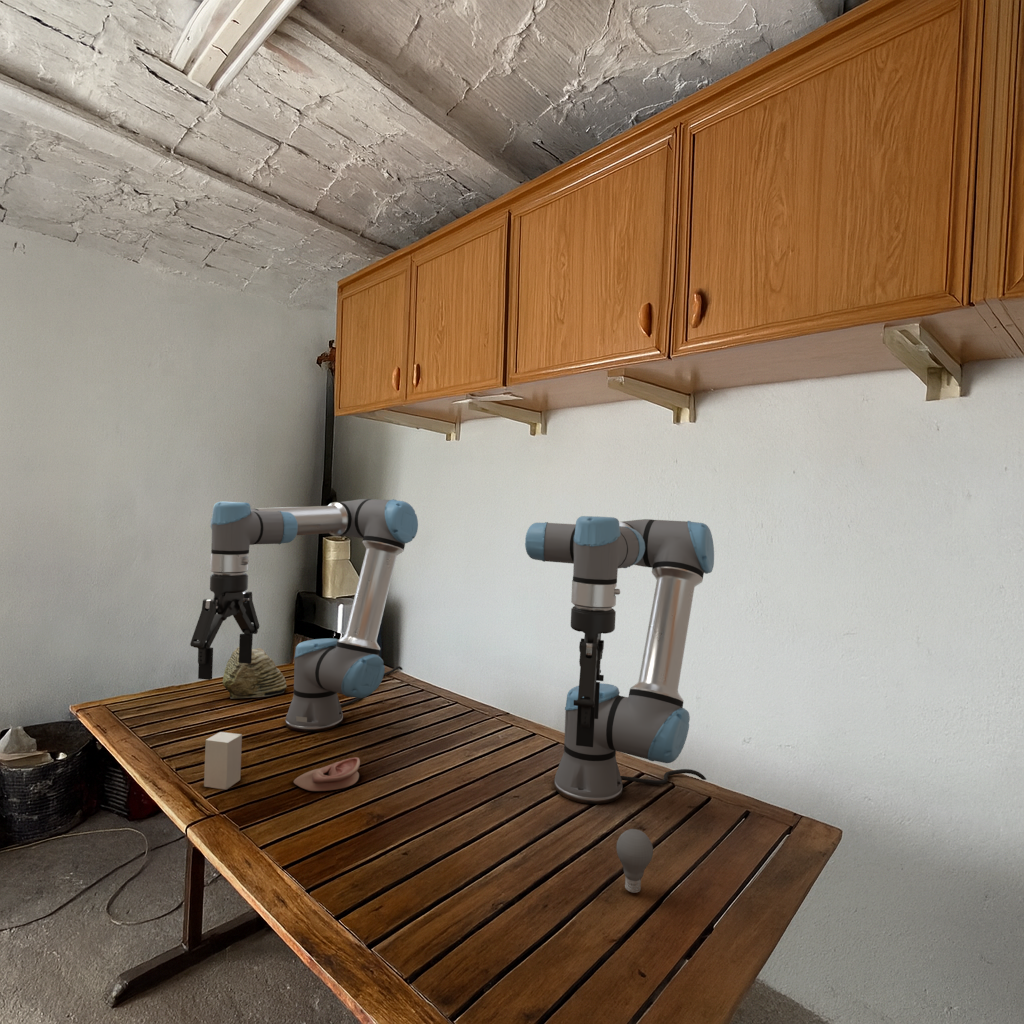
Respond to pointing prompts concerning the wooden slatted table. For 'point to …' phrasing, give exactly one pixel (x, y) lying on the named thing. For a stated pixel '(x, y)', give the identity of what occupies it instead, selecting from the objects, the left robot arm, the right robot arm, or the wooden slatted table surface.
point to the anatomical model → (330, 776)
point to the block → (222, 760)
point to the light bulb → (634, 857)
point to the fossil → (253, 676)
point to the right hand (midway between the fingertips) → (587, 731)
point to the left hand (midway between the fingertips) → (226, 670)
